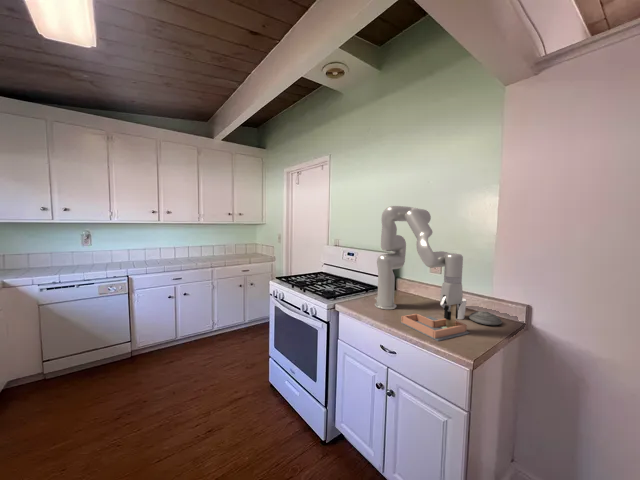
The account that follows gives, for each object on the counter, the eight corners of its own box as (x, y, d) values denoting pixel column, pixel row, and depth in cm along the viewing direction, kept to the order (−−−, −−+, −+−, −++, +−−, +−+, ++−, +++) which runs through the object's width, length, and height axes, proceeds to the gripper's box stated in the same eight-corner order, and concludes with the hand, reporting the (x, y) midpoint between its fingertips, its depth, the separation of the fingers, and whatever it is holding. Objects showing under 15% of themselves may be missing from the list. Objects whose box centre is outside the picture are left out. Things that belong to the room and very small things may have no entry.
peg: (443, 325, 133) (445, 301, 132) (449, 324, 135) (451, 300, 134) (451, 328, 129) (452, 303, 128) (457, 327, 131) (458, 302, 130)
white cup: (463, 315, 153) (464, 297, 152) (467, 320, 145) (468, 301, 144) (447, 314, 155) (448, 296, 154) (450, 318, 147) (451, 300, 146)
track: (400, 322, 140) (400, 315, 140) (429, 317, 149) (430, 310, 148) (437, 341, 119) (438, 332, 119) (469, 333, 128) (469, 325, 128)
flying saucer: (471, 314, 155) (472, 305, 154) (503, 321, 145) (504, 311, 145) (465, 322, 143) (465, 311, 143) (499, 330, 134) (500, 318, 133)
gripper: (458, 277, 137) (456, 313, 139) (433, 279, 130) (431, 318, 131) (472, 280, 130) (470, 318, 132) (446, 283, 123) (444, 323, 125)
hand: (450, 318), depth 132 cm, fingers closed on peg, 3 cm apart
